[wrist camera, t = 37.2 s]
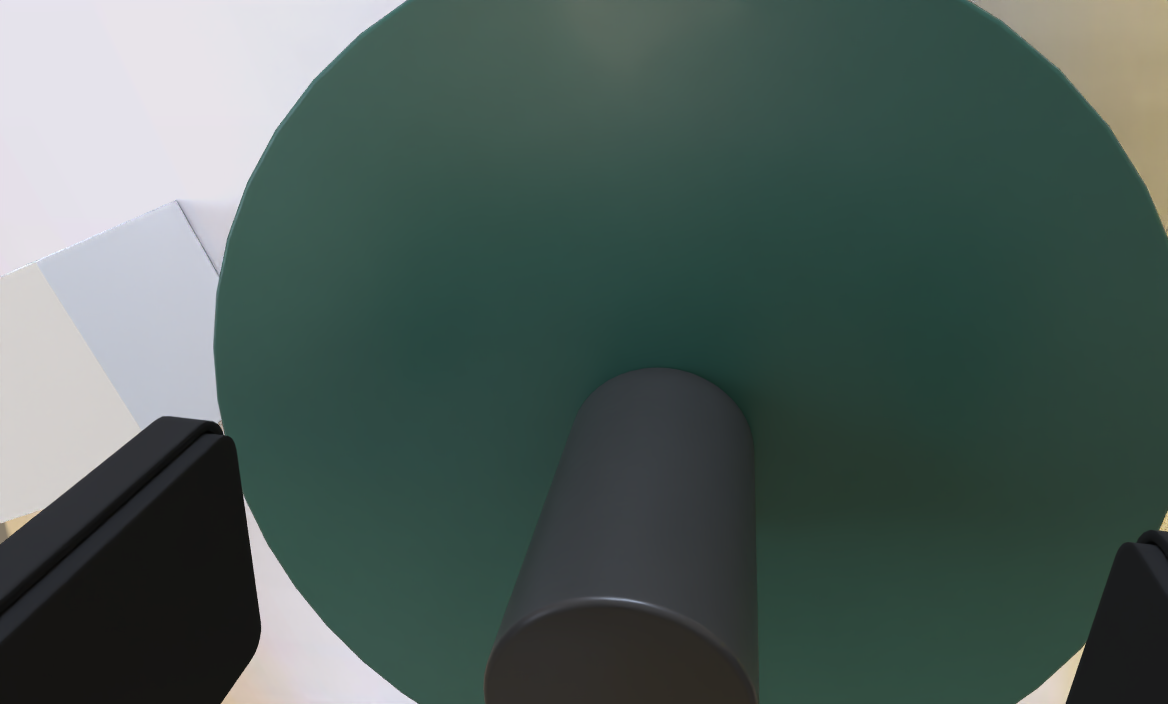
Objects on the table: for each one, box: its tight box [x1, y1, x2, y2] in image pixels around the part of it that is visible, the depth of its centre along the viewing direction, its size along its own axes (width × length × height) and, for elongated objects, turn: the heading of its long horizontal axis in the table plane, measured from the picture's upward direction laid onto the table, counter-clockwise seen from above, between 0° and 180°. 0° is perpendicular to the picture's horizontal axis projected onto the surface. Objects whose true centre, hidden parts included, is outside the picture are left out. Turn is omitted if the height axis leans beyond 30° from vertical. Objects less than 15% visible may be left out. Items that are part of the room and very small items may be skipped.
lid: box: [213, 0, 1168, 704], centre depth 11 cm, size 14×14×6 cm
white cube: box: [0, 200, 221, 523], centre depth 26 cm, size 6×6×6 cm
